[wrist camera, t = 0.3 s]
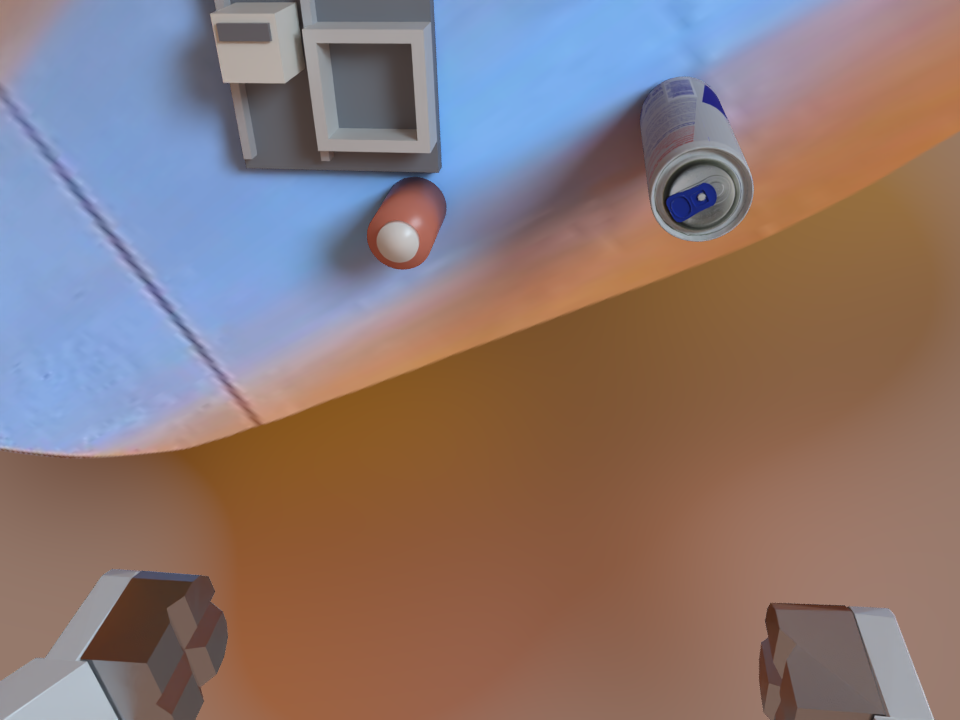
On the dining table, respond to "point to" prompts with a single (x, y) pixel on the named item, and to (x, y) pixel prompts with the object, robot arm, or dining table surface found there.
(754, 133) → the dining table surface
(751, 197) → the beverage can
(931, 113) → the dining table surface
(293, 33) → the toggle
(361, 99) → the panel
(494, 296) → the dining table surface
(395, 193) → the bottle with white cap
